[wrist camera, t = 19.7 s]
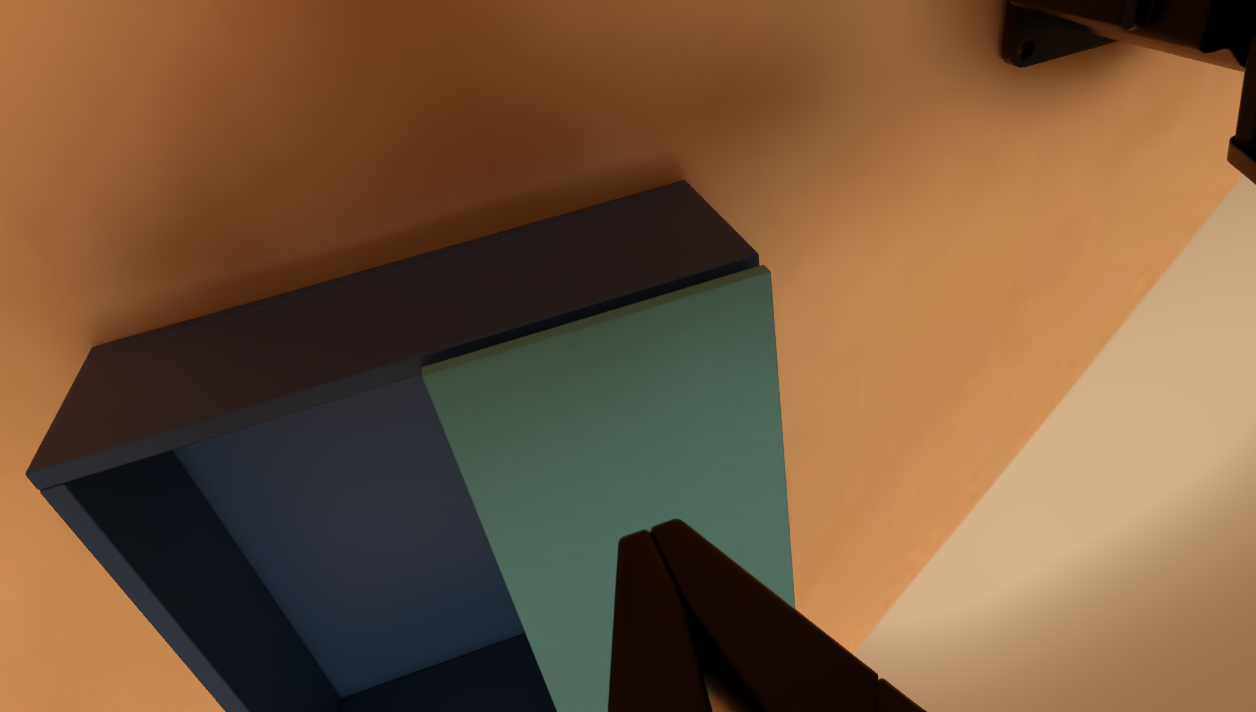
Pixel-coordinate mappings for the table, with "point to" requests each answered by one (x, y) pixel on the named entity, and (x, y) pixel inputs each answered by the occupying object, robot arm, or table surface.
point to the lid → (620, 457)
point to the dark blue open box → (343, 464)
